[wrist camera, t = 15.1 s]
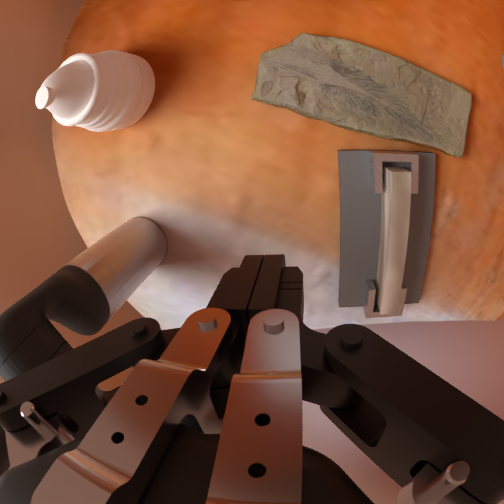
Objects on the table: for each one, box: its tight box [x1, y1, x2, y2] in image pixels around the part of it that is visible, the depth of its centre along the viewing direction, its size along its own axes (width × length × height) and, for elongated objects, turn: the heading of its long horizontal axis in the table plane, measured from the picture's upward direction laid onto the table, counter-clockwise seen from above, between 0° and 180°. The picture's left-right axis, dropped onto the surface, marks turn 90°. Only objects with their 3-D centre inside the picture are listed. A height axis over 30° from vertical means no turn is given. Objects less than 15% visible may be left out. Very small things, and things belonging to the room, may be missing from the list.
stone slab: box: [252, 33, 472, 158], centre depth 29 cm, size 12×4×30 cm
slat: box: [375, 165, 411, 315], centre depth 35 cm, size 2×20×5 cm, turn 7°
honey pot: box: [35, 50, 155, 132], centre depth 27 cm, size 13×13×18 cm
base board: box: [338, 150, 435, 307], centre depth 37 cm, size 14×24×2 cm, turn 6°
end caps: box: [363, 151, 419, 318], centre depth 35 cm, size 6×24×3 cm, turn 6°
